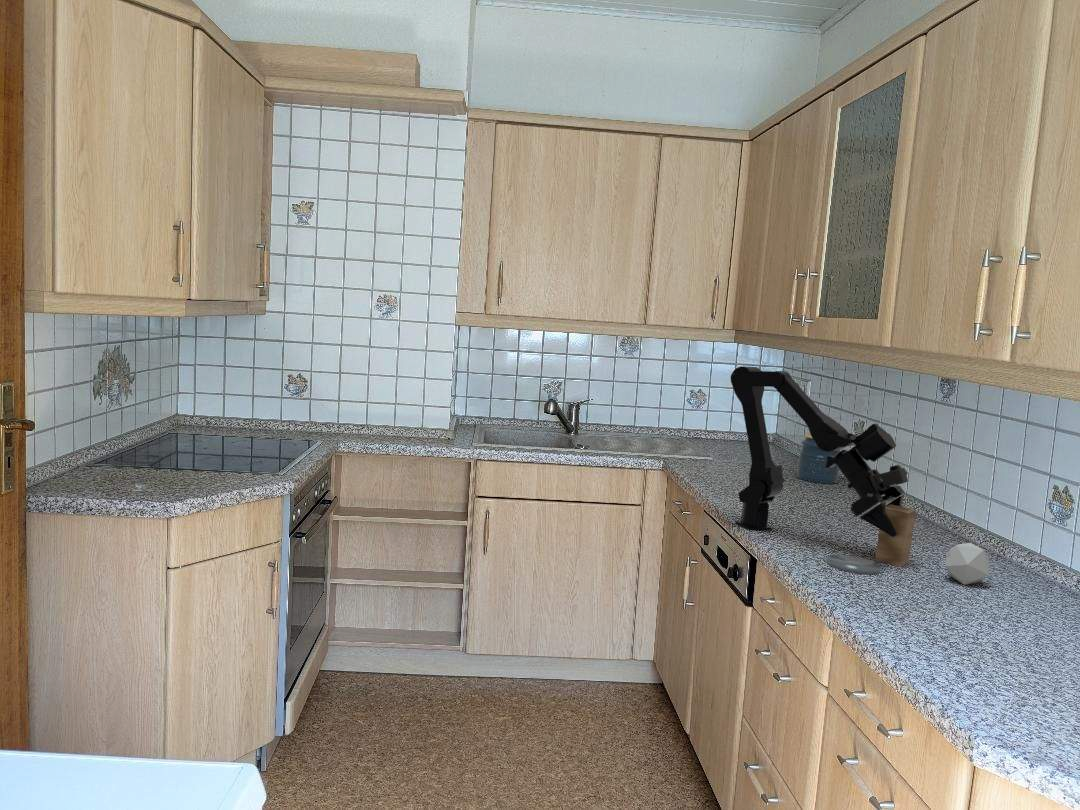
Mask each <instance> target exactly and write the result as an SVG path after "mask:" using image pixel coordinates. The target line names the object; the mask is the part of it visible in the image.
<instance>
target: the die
mask: <svg viewBox="0 0 1080 810" xmlns="http://www.w3.org/2000/svg"><path fill="white" fill-rule="evenodd" d="M990 563H991V561H990V559H989V557H988V555H987V553H986V552H985V550H984V549H983V548H981V547H979V546H977V545H975V544H974V543H971V542H966V543H960V544H954V546H953V547H952V548H951V549H950V550H948V551H947V552H946V555H945V562H944V567H945V569H946V571H947V572H948V574H949V575H950V577H951V578H952V579H954V580H956V581H958V582H959V583H960V584H962V585H964V586H965V585H972V584H976V583H979V582H981V581H982V580H983V579H985V578H986V577H988V576H989V574H990V567H991V566H990V565H991V564H990Z"/></svg>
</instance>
